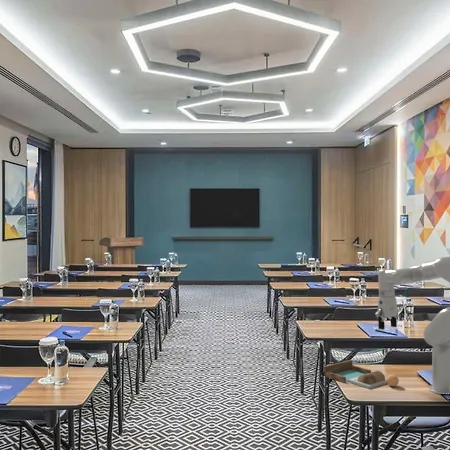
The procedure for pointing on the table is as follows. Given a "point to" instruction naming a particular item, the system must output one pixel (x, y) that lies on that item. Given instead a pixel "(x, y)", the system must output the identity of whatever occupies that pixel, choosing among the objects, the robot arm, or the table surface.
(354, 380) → the grey base plate
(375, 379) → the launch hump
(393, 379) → the ball
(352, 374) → the mat
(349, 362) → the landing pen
